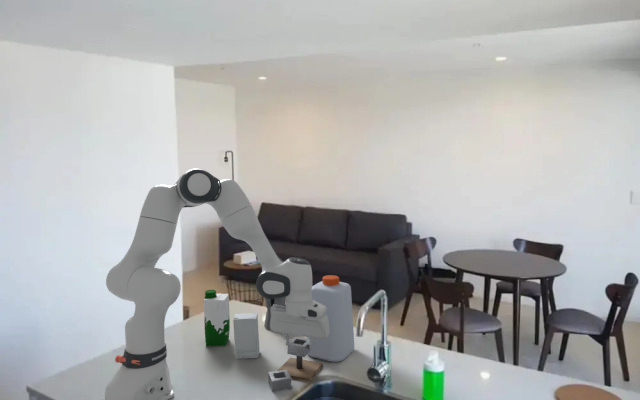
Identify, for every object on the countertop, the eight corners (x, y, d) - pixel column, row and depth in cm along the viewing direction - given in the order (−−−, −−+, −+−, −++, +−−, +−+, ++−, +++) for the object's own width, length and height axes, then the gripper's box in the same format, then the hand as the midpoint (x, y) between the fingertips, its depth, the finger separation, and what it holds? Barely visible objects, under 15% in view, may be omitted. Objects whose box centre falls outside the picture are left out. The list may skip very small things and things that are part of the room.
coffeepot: (266, 320, 207) (266, 279, 205) (288, 321, 207) (288, 279, 204) (260, 335, 192) (260, 290, 190) (284, 335, 191) (284, 291, 189)
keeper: (309, 381, 154) (309, 359, 153) (275, 375, 159) (275, 353, 158) (322, 365, 165) (322, 344, 165) (290, 360, 170) (290, 339, 169)
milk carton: (208, 337, 189) (207, 287, 187) (231, 337, 189) (230, 287, 186) (202, 347, 180) (201, 294, 178) (227, 347, 180) (225, 295, 178)
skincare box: (259, 351, 177) (259, 312, 175) (258, 359, 171) (257, 318, 169) (236, 352, 176) (235, 312, 174) (234, 359, 170) (233, 318, 168)
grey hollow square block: (304, 357, 158) (304, 347, 158) (287, 353, 160) (287, 343, 160) (310, 349, 164) (311, 339, 163) (294, 346, 166) (294, 336, 165)
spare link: (291, 388, 150) (291, 378, 150) (272, 391, 148) (272, 381, 148) (286, 379, 156) (286, 369, 155) (268, 382, 154) (268, 372, 153)
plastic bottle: (321, 341, 186) (321, 269, 183) (358, 348, 179) (358, 274, 176) (302, 356, 173) (301, 279, 169) (340, 365, 166) (341, 285, 163)
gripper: (266, 306, 160) (267, 346, 162) (324, 313, 153) (324, 355, 155) (274, 300, 166) (275, 338, 168) (331, 307, 159) (331, 347, 161)
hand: (299, 347), depth 162 cm, fingers closed on grey hollow square block, 6 cm apart
